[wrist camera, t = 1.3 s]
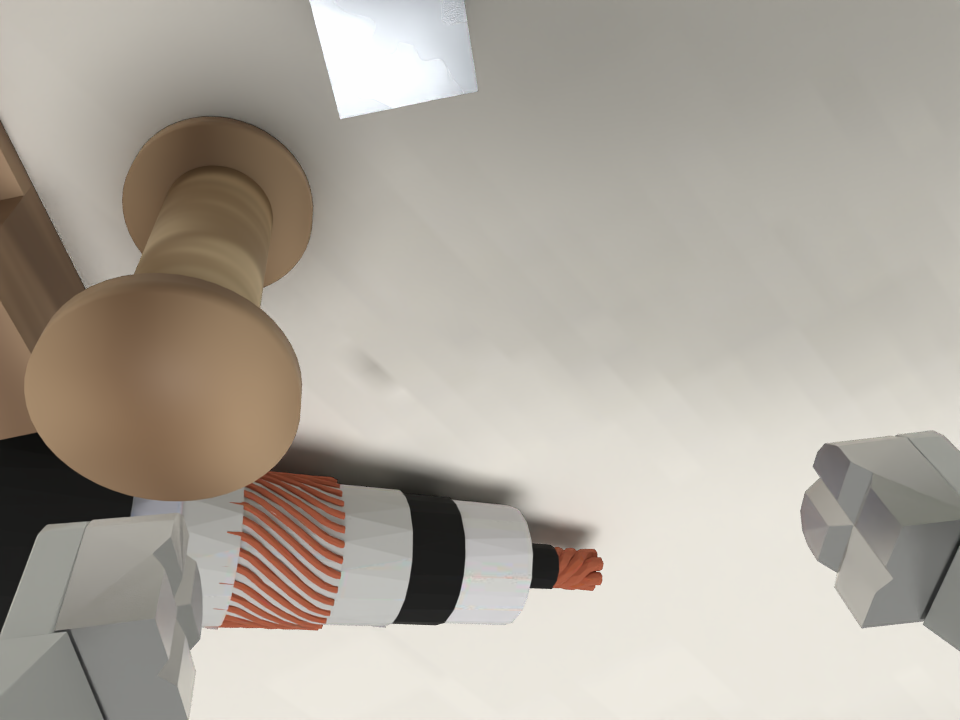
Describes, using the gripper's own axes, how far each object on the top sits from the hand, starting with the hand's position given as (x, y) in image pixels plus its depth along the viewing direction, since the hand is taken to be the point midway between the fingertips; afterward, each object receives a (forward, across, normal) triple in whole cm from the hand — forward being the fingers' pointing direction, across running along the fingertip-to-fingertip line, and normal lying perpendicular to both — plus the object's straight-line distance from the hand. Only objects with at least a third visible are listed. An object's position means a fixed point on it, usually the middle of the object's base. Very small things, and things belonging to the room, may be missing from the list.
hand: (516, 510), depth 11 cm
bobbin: (+24, +7, +6) cm, 26 cm away
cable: (+25, +6, +21) cm, 33 cm away
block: (+24, 0, -2) cm, 24 cm away
